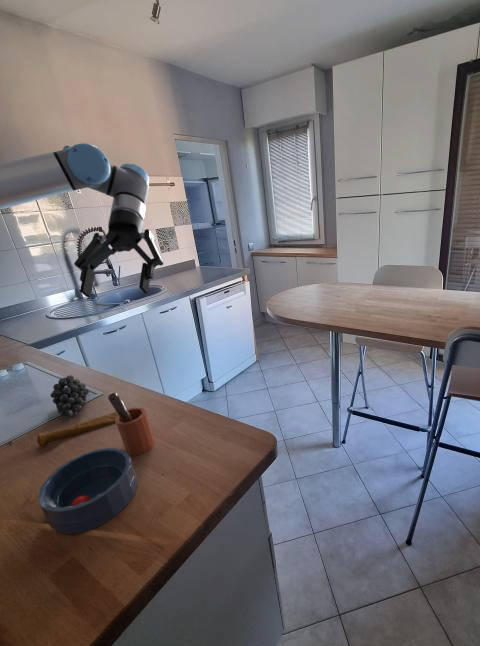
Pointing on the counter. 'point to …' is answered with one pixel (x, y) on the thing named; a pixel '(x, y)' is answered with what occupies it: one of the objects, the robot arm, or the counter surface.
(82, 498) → the tomato
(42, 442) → the primitive tool
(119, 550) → the counter surface
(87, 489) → the bowl
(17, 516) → the counter surface
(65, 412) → the fruit
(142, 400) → the counter surface
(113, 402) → the stick
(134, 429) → the crock
